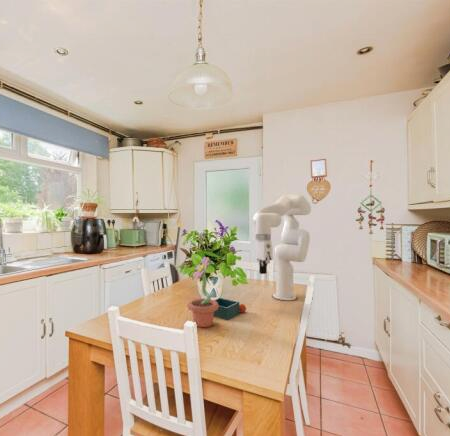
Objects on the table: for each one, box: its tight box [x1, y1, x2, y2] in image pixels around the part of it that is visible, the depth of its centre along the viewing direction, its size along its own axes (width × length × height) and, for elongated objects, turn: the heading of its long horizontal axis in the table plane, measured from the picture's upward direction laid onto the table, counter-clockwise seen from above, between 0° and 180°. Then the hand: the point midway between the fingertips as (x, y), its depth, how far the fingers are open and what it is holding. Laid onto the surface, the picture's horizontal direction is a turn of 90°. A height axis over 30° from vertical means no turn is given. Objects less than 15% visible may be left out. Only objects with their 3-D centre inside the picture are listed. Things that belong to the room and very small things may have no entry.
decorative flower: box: [187, 256, 219, 328], centre depth 123 cm, size 15×14×30 cm
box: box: [213, 297, 240, 321], centre depth 136 cm, size 12×12×6 cm
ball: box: [239, 303, 247, 313], centre depth 138 cm, size 4×4×4 cm
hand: (263, 273), depth 140 cm, fingers closed
